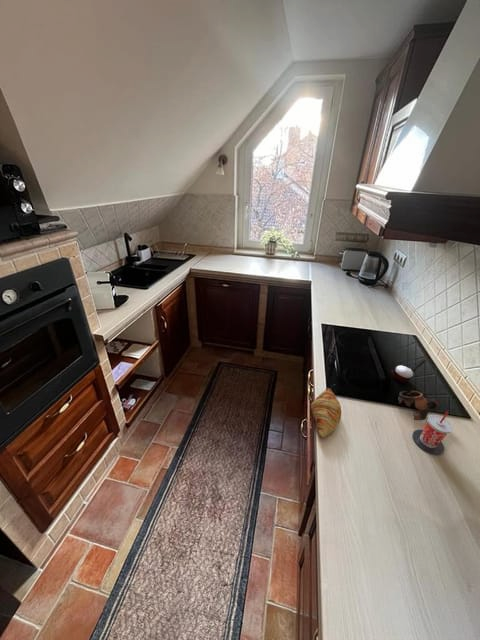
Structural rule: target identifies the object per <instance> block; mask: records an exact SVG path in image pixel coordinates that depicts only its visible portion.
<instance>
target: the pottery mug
mask: <svg viewBox="0 0 480 640" xmlns="http://www.w3.org/2000/svg"><path fill="white" fill-rule="evenodd" d="M397 400H398V404H399V405H401V404H402V403H403V402H404V404H405V405H406V406H407V407H409V408H410V407H411V405H412V404H413V403H414V407H415V408H416V409H417V410H418V411H419V413H417V414H416V413H415V414H414V413H413V414H412V417H413V421H417V422H418V421H425V420H426V419H427V418H428V414H429V413H430V412H433V411H435V410H437V408H438V407H439V403H438V401H437V400H436V399H434V398H426V397H424V394H423V392H420V391H415V390H410V392H409V391H408V390H402V391H400V392H399V394H398V397H397ZM430 404H431V405H430Z"/></svg>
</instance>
